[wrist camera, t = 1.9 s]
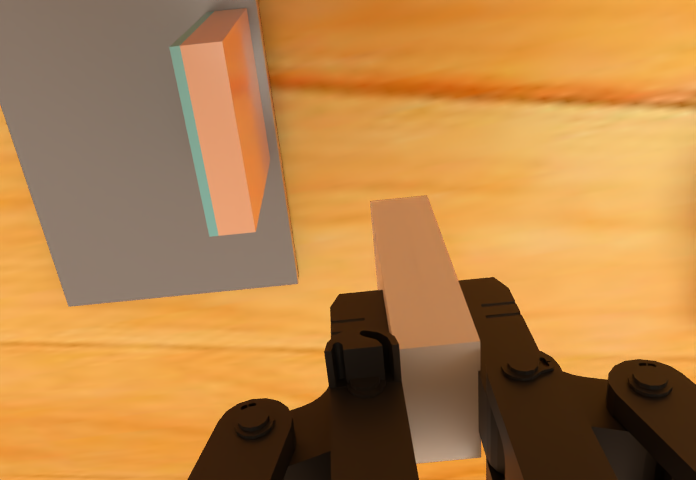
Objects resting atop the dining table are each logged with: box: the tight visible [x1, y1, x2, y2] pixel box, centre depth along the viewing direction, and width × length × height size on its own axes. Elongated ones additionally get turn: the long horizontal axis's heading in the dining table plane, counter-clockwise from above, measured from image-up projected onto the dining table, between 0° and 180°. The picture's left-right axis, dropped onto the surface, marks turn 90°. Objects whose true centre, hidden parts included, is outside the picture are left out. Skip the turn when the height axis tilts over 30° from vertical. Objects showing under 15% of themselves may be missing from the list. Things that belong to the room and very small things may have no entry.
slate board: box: [0, 0, 299, 306], centre depth 35 cm, size 24×14×1 cm, turn 5°
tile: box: [169, 8, 270, 237], centre depth 31 cm, size 8×2×9 cm, turn 5°
